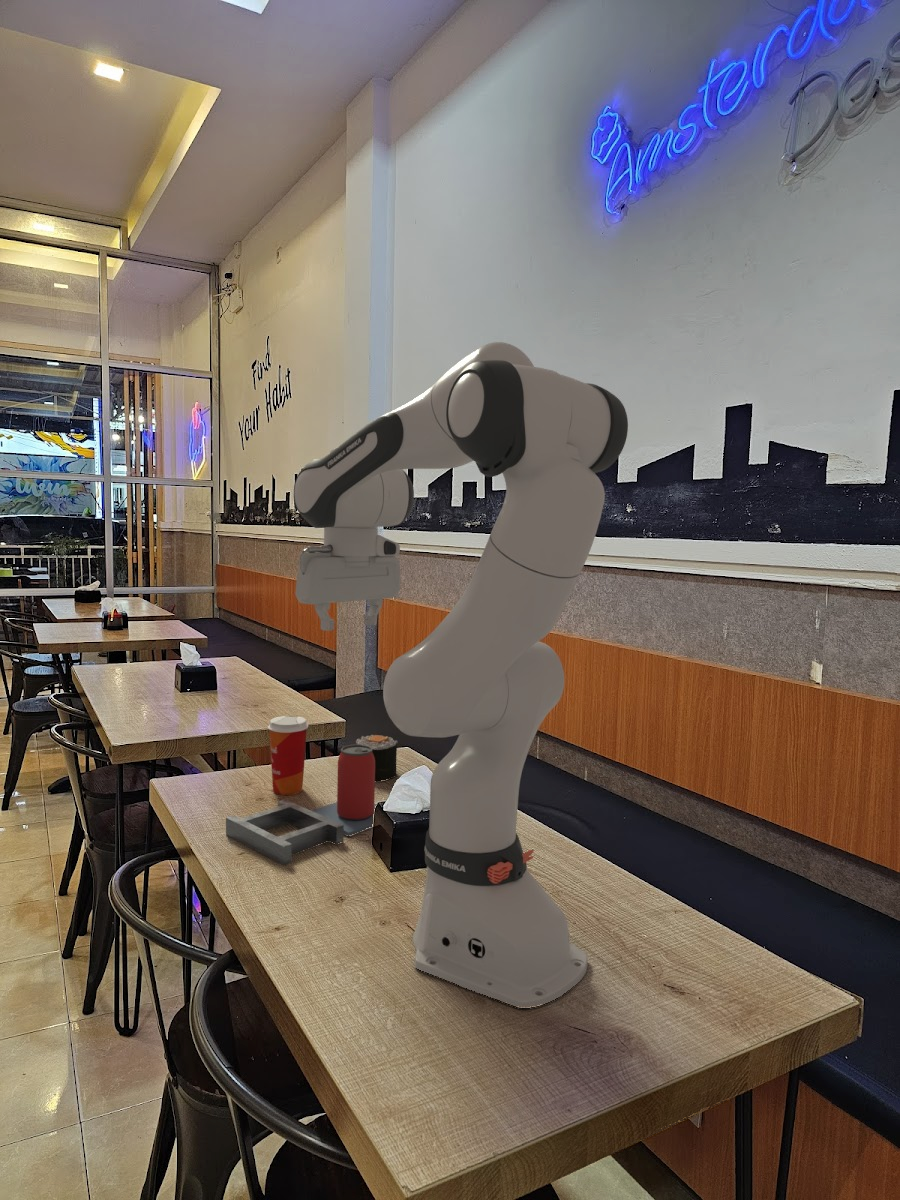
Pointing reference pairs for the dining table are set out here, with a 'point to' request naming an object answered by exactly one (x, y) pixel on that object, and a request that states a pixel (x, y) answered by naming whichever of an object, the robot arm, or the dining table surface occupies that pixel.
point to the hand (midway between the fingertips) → (349, 627)
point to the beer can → (356, 782)
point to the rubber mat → (349, 825)
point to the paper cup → (287, 753)
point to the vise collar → (283, 847)
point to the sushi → (382, 755)
